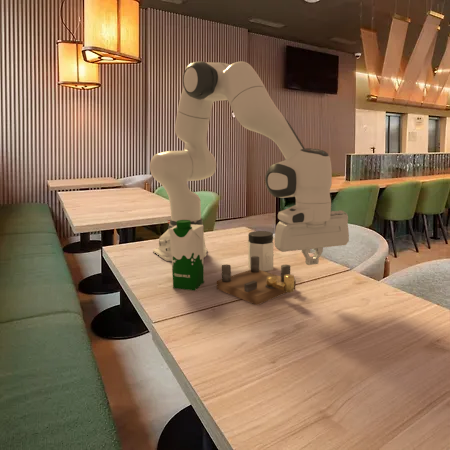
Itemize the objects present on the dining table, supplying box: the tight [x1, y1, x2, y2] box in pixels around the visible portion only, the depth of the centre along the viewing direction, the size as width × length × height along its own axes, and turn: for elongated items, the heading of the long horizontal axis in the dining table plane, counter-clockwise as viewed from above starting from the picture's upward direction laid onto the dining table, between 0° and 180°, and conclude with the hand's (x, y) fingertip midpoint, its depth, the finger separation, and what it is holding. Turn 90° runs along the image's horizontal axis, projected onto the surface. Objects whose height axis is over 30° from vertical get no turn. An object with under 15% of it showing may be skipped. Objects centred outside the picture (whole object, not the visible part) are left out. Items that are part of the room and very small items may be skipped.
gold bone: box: [267, 273, 295, 294], centre depth 104 cm, size 9×3×4 cm, turn 42°
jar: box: [247, 230, 275, 272], centre depth 128 cm, size 9×8×12 cm
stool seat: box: [216, 256, 296, 306], centre depth 110 cm, size 16×16×7 cm
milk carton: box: [168, 220, 205, 291], centre depth 113 cm, size 9×9×20 cm
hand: (311, 264), depth 102 cm, fingers closed
